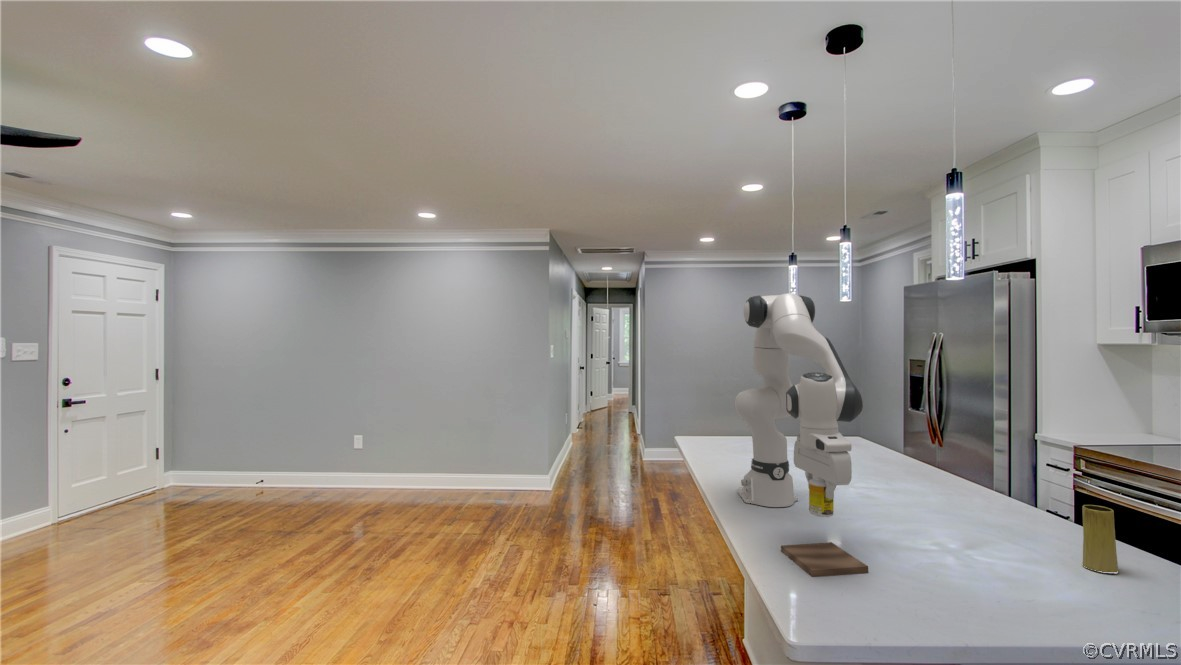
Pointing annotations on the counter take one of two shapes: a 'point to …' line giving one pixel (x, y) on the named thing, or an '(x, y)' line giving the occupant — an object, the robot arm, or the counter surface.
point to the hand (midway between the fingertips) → (820, 494)
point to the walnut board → (823, 559)
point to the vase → (1099, 539)
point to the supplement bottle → (819, 498)
